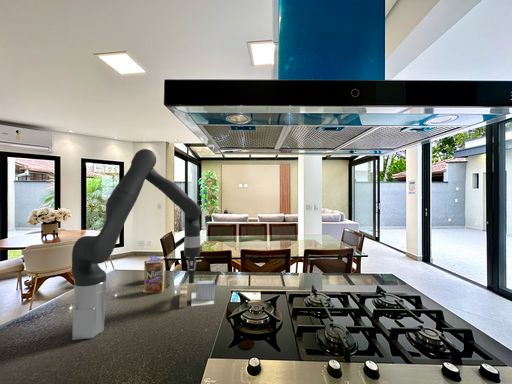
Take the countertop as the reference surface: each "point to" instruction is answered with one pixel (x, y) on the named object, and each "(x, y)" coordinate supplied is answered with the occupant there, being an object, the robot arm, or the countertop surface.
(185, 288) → the ledge
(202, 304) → the mat
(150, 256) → the ink cartridge box
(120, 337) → the countertop surface
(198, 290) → the medicine box
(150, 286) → the candy box
